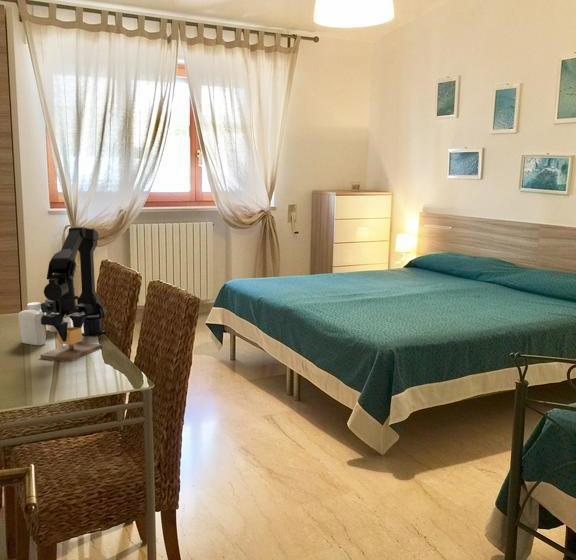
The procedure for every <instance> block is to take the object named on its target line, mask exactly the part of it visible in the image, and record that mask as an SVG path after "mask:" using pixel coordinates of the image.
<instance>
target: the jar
mask: <svg viewBox="0 0 576 560" xmlns="http://www.w3.org/2000/svg"><path fill="white" fill-rule="evenodd" d="M45 302H48V303H49V304H50V303H53V302H54V301H51V300H49V299H47V298H46V299H45V301H44V303H45ZM50 314H59V313H50ZM45 315H47V314H46V312H45ZM64 321H65V322H68V326H67V327H72V320H71V318H70V317H67V318H64ZM46 331H49V332H51V333H57V330H56V328H55V327H54V326H51V325H46Z"/></svg>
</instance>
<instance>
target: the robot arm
mask: <svg viewBox="0 0 576 560" xmlns="http://www.w3.org/2000/svg"><path fill="white" fill-rule="evenodd" d="M95 229H96V228H93V227H91V228H87V227H83V226H71V227H68V230H67V231H68V234H67V236H66V238H65V240H64V242H63V244H62V247H61V249H60V250H59V251H58V252H56V253H54V255H53V256H52V257H51V259H50V260H49V262H48V266H47V267H48V269H47V274H46V280H48V283H47V284H46V286H45V287H44V289H43V294H44V296H45V298H46V299H49V300H51V301H54V302H53V303H50V304H49V303H48V302H45V301H44V302H42V303H41V307H40V308H41V310H42V312H43V313H45V312H46V313H45V315H44V316H42V317H41V325H46V326H47V325H51V326H54V327H55V328H56V330H57V331H58V333H59V335H60V337H61V339H62V341H64V342H65V341H66V338H67V326H68V322H65V321H64V318H67V317H70V319H71V323H72V327H78V328H81V329H82V327H83V333H82V336H88V337H89V336H90V337H97V336H99V335H102V334H104V333H106V332H107V330H103V322H102V321H103V319H105V318H106V309H105V307H104V305H103V303H101V298H100V295H98V293H97V291H96V284H95V283H96V282H95V281H96V279H95V262H94V261H95V260H94V252H95V250H96V248H97V246H98V241H99V233H98V231H97V230H95ZM78 252H79V262H80V266H79V267H80V280H81V283H80V284H81V293H80V294H79V296H78V295H76V293H75V284H74V278H75V272H76V268H77V263H76V260H75V257H76V256H77V253H78ZM76 303H77V304H76ZM50 313H59V314H50ZM46 314H47V315H46ZM58 333H57V334H58Z"/></svg>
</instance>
